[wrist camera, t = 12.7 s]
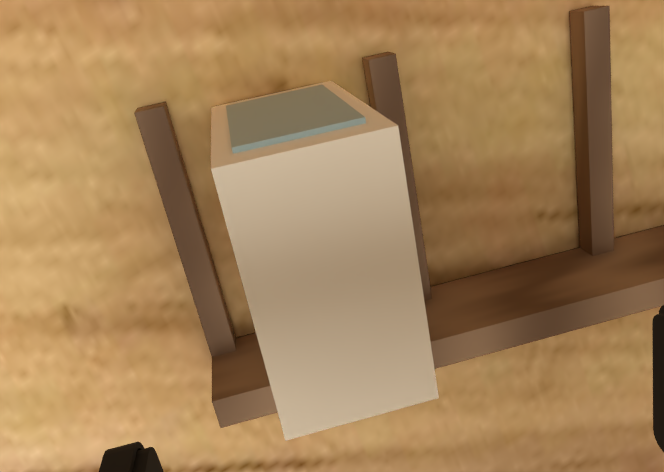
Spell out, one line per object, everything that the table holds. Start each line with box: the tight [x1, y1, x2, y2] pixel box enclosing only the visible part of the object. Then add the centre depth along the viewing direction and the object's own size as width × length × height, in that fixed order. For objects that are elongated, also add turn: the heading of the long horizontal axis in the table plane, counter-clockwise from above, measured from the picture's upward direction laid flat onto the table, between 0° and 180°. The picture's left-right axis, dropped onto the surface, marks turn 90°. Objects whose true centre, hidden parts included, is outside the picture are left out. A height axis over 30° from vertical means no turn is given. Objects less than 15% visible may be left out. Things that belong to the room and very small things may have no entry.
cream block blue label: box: [211, 81, 439, 441], centre depth 20 cm, size 4×8×9 cm, turn 11°
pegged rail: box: [135, 6, 664, 428], centre depth 24 cm, size 26×11×4 cm, turn 101°
